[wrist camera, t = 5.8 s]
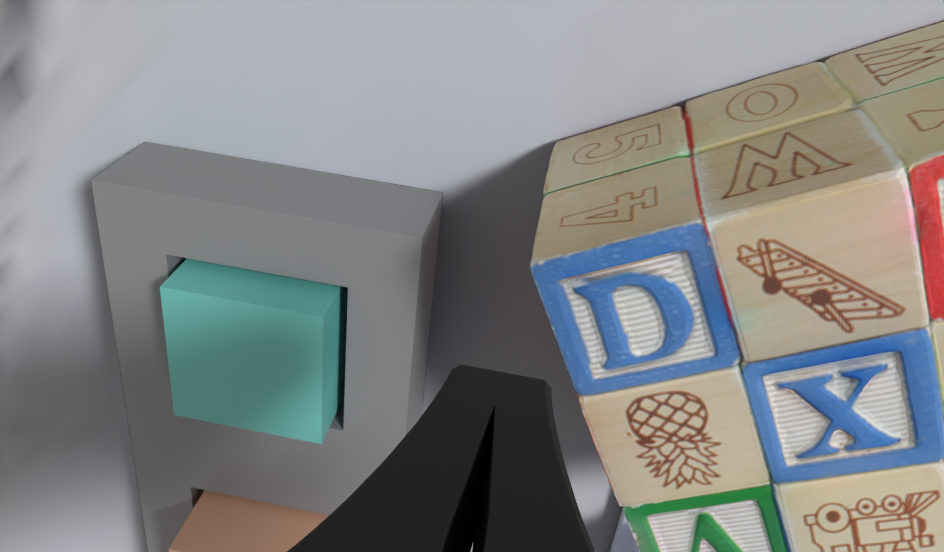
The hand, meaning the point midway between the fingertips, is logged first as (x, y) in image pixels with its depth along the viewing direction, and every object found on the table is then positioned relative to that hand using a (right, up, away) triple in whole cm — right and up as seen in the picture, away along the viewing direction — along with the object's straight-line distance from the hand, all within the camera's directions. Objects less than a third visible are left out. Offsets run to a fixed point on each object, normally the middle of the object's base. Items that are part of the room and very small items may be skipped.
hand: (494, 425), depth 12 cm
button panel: (-6, -5, +15) cm, 17 cm away
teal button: (-5, +2, +12) cm, 13 cm away
